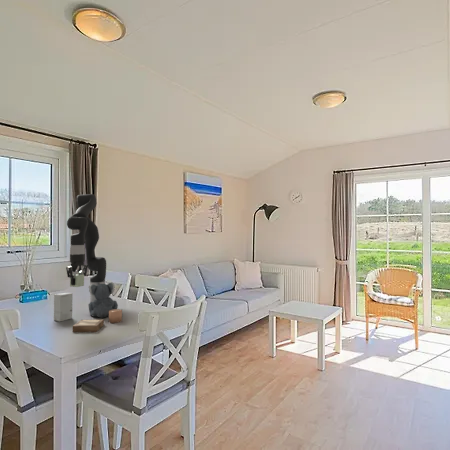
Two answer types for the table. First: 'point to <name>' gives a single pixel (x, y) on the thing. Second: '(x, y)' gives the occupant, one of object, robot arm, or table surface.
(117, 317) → the tan rounded block
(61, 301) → the skincare box
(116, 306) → the koala plush
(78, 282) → the sage block
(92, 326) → the walnut base
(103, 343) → the table surface
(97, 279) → the robot arm
